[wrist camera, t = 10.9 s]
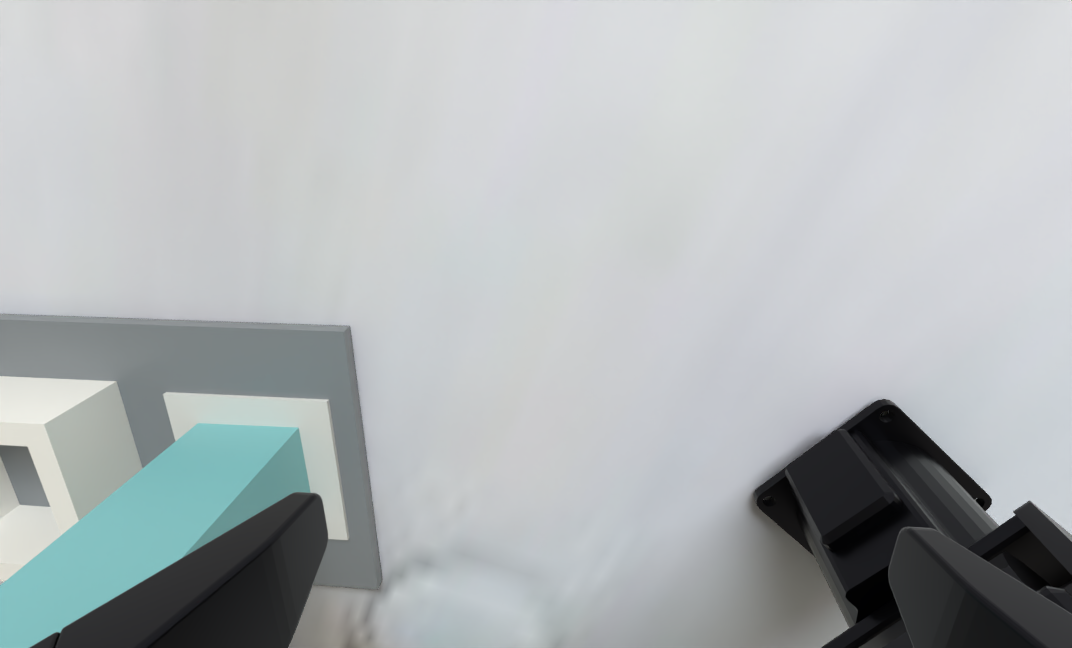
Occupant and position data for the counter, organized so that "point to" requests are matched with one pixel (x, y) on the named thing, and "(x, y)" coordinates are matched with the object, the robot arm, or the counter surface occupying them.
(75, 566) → the plug
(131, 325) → the grey board with socket
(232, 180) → the counter surface
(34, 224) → the counter surface
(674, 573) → the counter surface
